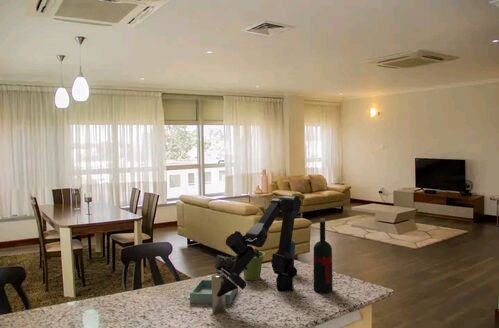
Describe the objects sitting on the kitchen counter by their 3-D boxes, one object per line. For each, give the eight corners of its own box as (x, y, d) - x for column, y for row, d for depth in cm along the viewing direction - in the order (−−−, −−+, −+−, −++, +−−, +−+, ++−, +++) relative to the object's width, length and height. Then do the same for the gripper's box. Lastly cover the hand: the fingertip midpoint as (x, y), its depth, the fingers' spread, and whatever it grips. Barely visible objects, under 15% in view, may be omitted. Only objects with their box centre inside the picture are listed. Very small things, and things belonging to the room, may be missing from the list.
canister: (227, 308, 152) (226, 274, 151) (224, 313, 147) (223, 278, 146) (214, 307, 152) (213, 273, 152) (210, 313, 147) (209, 278, 147)
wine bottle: (319, 296, 161) (319, 222, 160) (310, 287, 171) (310, 217, 170) (338, 294, 163) (337, 221, 161) (328, 286, 173) (327, 216, 171)
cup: (294, 274, 188) (294, 243, 188) (280, 274, 190) (280, 242, 189) (296, 270, 195) (295, 239, 194) (282, 269, 196) (281, 239, 196)
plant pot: (233, 278, 185) (233, 254, 185) (252, 272, 193) (252, 249, 193) (251, 284, 177) (251, 259, 176) (270, 278, 185) (270, 253, 184)
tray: (237, 289, 171) (237, 280, 170) (230, 304, 155) (229, 294, 155) (201, 288, 173) (200, 279, 173) (189, 302, 157) (189, 293, 157)
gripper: (218, 241, 158) (192, 273, 154) (237, 253, 142) (208, 289, 137) (237, 258, 162) (212, 290, 158) (258, 271, 145) (230, 307, 141)
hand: (215, 293), depth 149 cm, fingers closed on canister, 5 cm apart
